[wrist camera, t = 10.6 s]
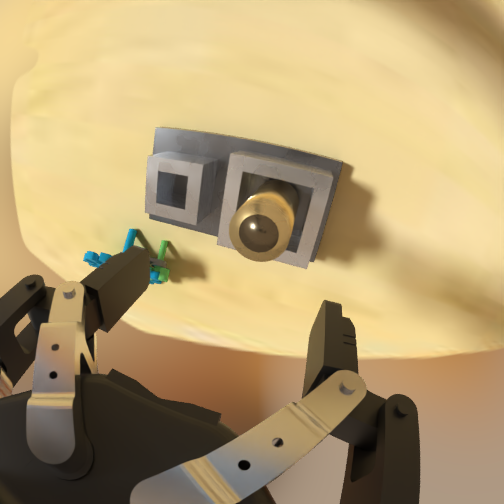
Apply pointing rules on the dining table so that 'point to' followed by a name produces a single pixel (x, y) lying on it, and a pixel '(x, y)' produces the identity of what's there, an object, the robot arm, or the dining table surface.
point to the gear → (156, 273)
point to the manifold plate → (236, 185)
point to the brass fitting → (265, 221)
